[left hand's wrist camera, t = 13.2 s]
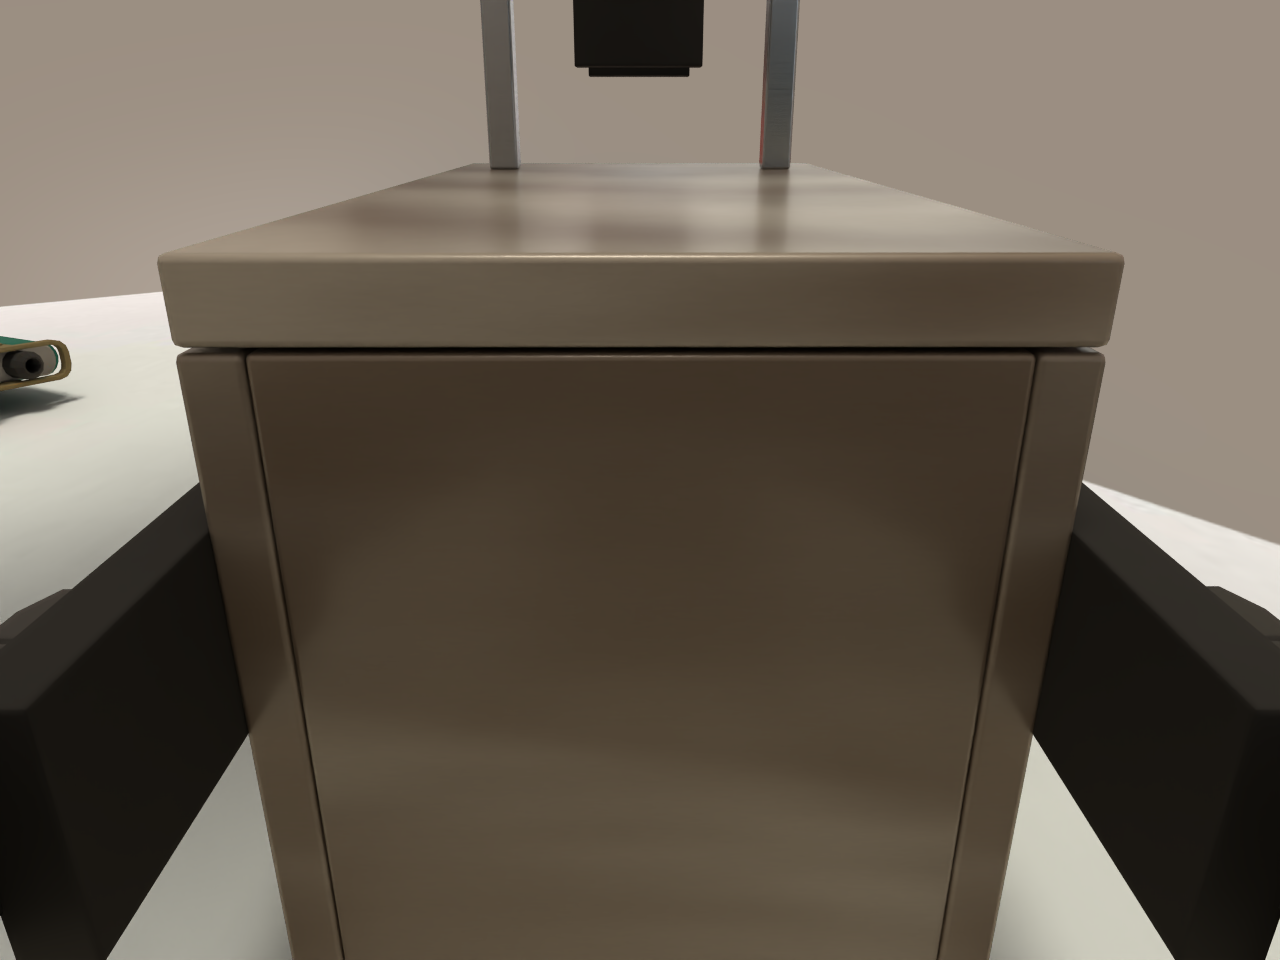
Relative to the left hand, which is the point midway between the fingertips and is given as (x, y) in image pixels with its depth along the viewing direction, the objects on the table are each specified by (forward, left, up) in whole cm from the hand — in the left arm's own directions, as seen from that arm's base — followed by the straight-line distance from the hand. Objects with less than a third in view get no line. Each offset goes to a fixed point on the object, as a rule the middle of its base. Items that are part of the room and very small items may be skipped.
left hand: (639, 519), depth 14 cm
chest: (+4, -3, -7) cm, 9 cm away
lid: (+5, -3, +3) cm, 7 cm away
